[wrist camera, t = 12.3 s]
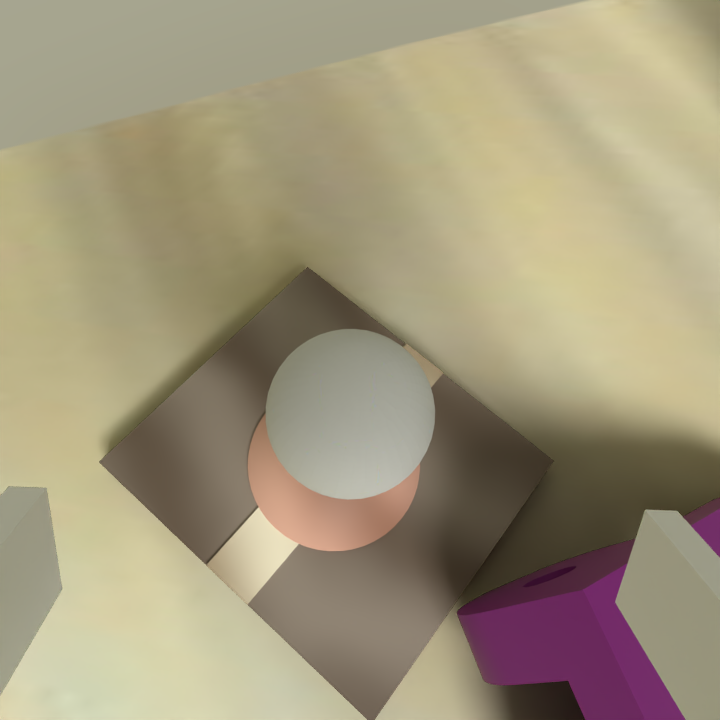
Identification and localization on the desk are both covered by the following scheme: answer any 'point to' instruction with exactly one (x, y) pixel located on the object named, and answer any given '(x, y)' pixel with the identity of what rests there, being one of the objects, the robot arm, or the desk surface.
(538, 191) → the desk surface
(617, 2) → the desk surface
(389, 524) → the board
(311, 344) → the light bulb
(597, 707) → the mounting bracket
